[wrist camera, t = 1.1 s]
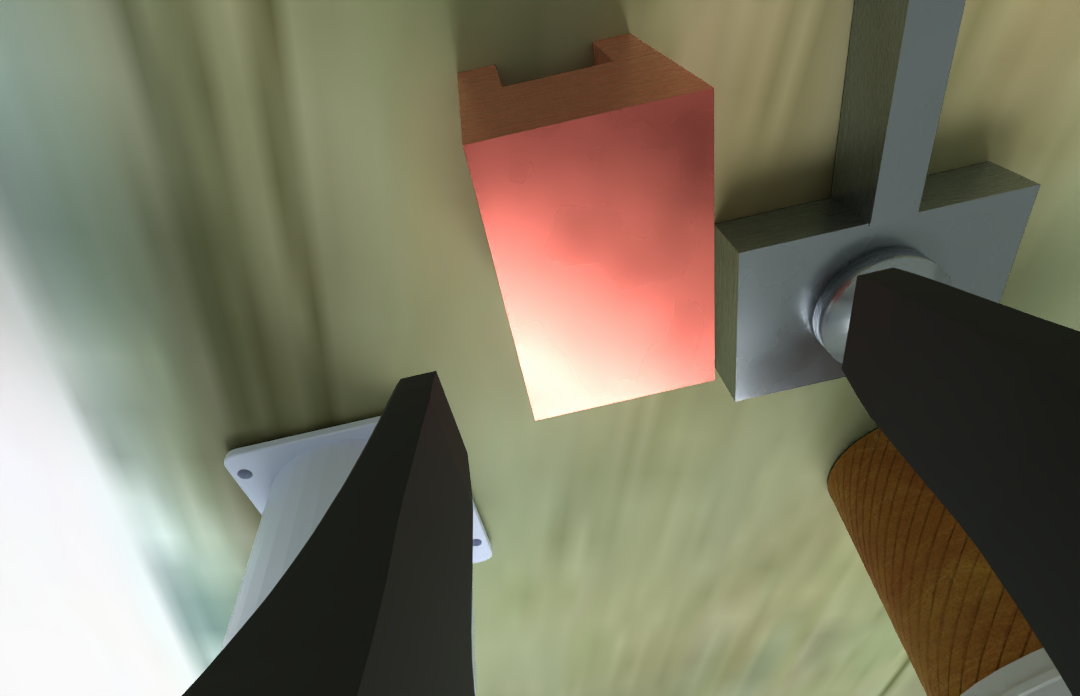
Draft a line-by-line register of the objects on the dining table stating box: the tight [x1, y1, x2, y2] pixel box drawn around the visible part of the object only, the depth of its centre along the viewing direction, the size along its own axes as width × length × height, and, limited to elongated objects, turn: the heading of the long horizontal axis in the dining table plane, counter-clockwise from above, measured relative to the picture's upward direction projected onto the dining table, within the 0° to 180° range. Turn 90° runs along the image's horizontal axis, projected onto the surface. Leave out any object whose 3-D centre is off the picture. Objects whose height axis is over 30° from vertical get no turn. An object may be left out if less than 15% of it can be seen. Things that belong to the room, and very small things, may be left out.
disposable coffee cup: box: [828, 428, 1072, 696], centre depth 23 cm, size 10×10×12 cm
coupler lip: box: [714, 0, 1040, 401], centre depth 17 cm, size 15×9×3 cm, turn 10°
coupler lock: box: [457, 34, 715, 420], centre depth 15 cm, size 7×5×6 cm, turn 10°
